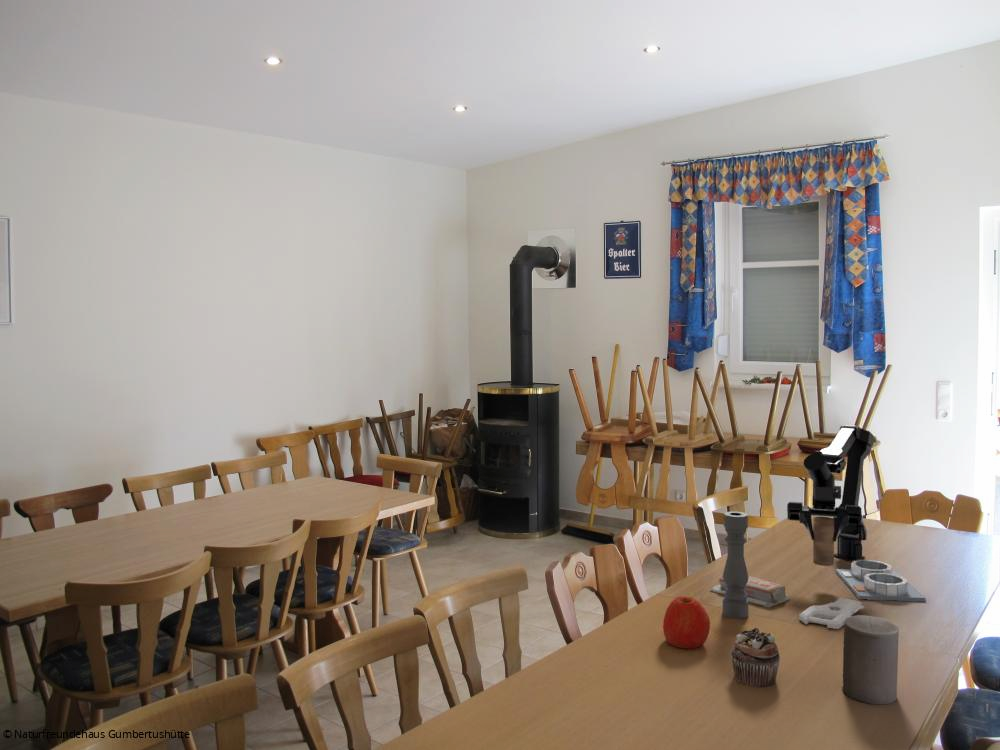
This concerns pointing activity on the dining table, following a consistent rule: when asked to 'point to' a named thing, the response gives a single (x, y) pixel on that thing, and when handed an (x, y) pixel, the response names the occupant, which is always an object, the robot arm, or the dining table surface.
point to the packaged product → (759, 591)
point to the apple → (686, 623)
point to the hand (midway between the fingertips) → (823, 540)
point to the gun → (831, 613)
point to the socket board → (879, 597)
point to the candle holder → (735, 566)
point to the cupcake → (755, 658)
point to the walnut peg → (823, 541)
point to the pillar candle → (870, 659)
